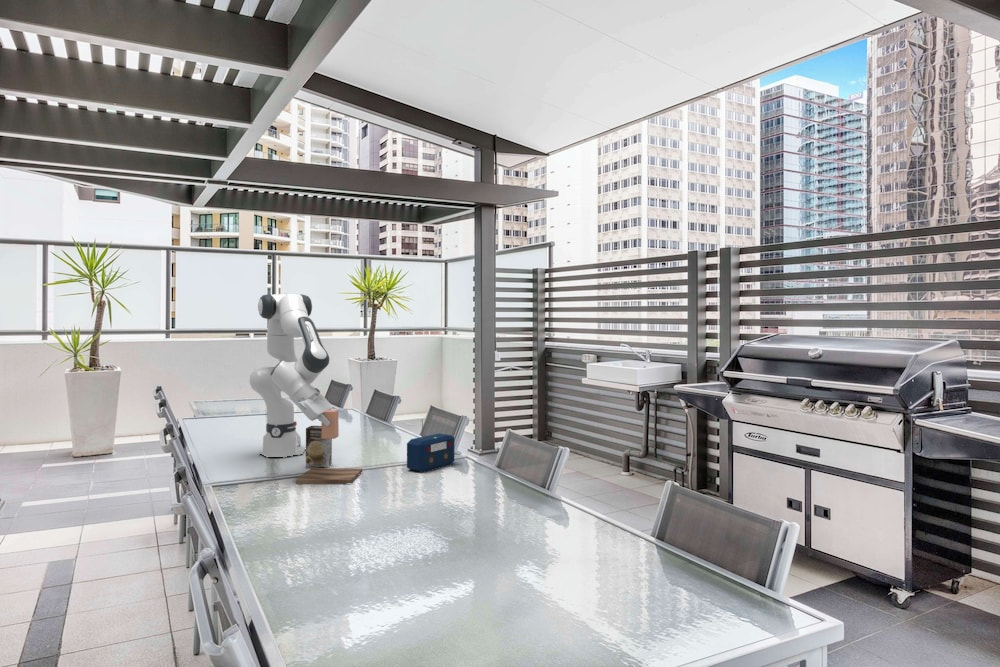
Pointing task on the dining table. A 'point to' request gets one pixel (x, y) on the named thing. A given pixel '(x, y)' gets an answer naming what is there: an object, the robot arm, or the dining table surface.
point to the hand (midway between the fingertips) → (331, 423)
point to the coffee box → (317, 448)
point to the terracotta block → (333, 428)
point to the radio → (430, 452)
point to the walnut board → (329, 476)
